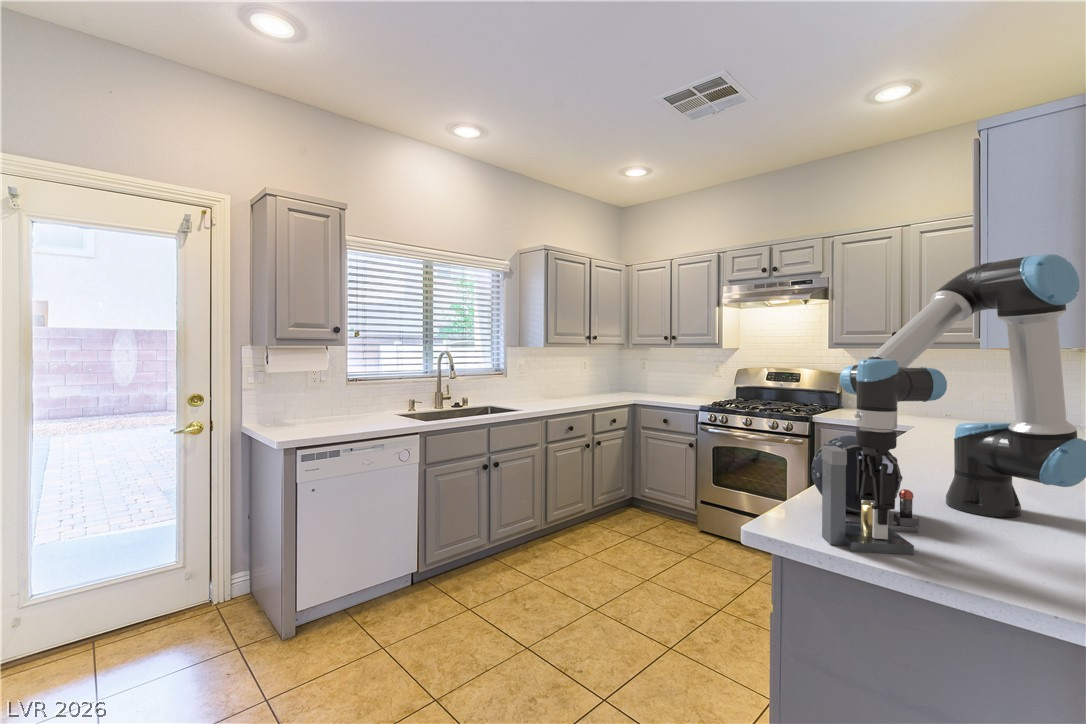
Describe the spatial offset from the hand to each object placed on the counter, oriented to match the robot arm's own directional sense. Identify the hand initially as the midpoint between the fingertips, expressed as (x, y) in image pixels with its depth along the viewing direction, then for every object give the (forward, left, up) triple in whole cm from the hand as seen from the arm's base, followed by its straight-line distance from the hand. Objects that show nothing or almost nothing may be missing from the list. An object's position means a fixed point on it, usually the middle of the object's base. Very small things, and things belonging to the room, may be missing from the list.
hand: (873, 533), depth 111 cm
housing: (0, 0, 0) cm, 0 cm away
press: (-2, -3, -2) cm, 4 cm away
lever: (-11, -10, -1) cm, 15 cm away
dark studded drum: (-5, -23, -3) cm, 24 cm away
